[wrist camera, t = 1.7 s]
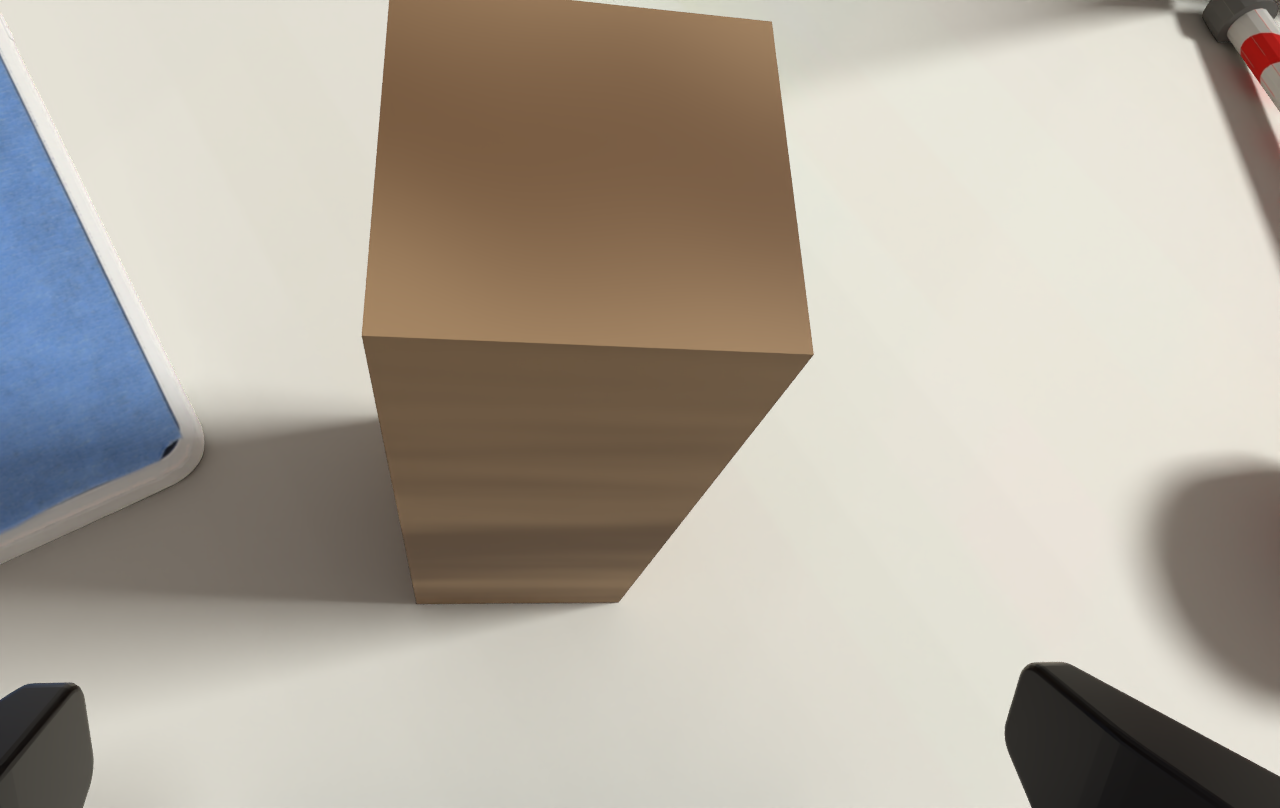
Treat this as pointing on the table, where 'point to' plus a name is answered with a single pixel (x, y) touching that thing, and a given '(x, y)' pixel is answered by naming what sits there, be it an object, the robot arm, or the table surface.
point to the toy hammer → (1250, 37)
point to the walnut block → (573, 284)
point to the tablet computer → (72, 345)
